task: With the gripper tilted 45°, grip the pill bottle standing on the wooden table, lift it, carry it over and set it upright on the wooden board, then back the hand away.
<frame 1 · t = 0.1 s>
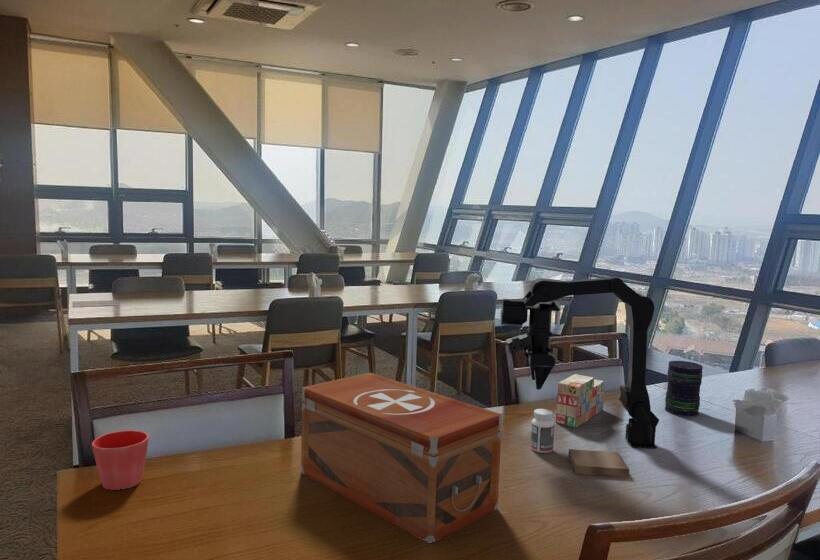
hand: (536, 384, 164), 15 cm above the table, tool pointing down, fingers open, 9 cm apart
wooden board: (597, 466, 148), on the table
stack of blocks: (579, 417, 184), on the table
storage jar: (681, 412, 192), on the table
flower pot: (121, 483, 132), on the table
pill bottle: (541, 450, 158), on the table
wooden box: (394, 491, 133), on the table
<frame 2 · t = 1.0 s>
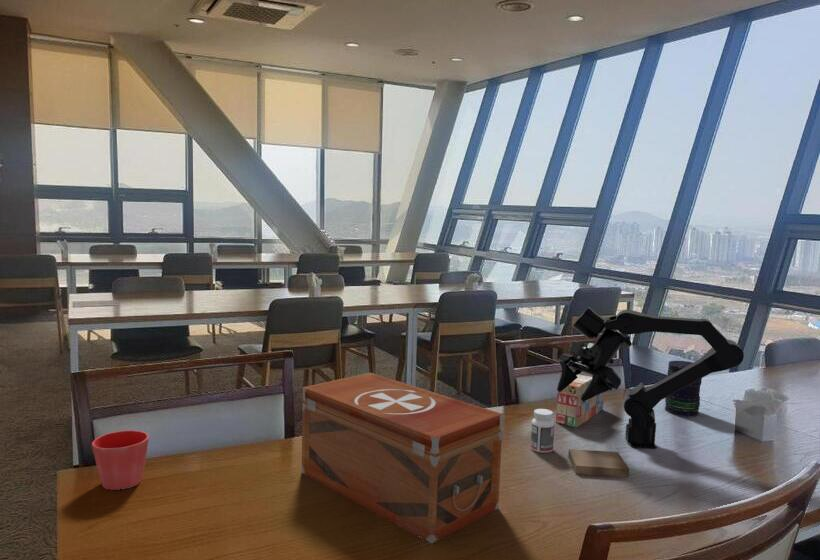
hand: (569, 395, 160), 13 cm above the table, tool tilted 45°, fingers open, 9 cm apart
nothing on the table moved.
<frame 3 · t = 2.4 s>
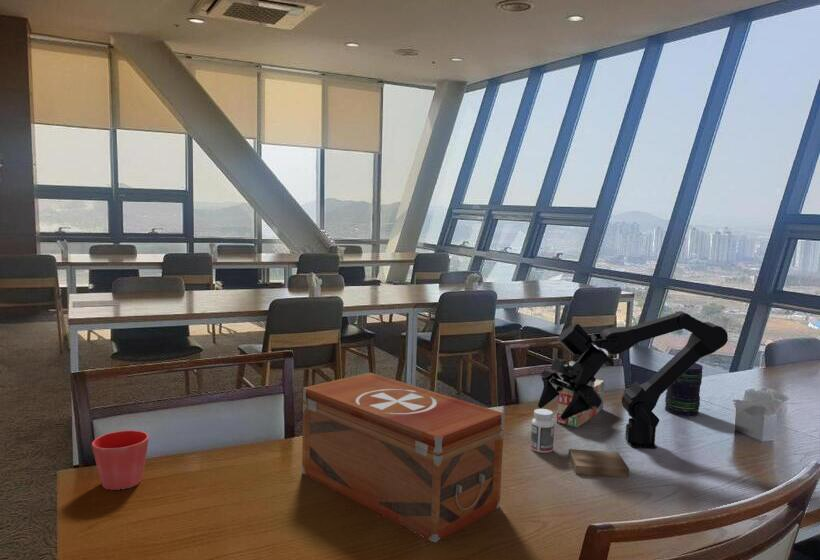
hand: (549, 412, 158), 9 cm above the table, tool tilted 45°, fingers open, 9 cm apart
nothing on the table moved.
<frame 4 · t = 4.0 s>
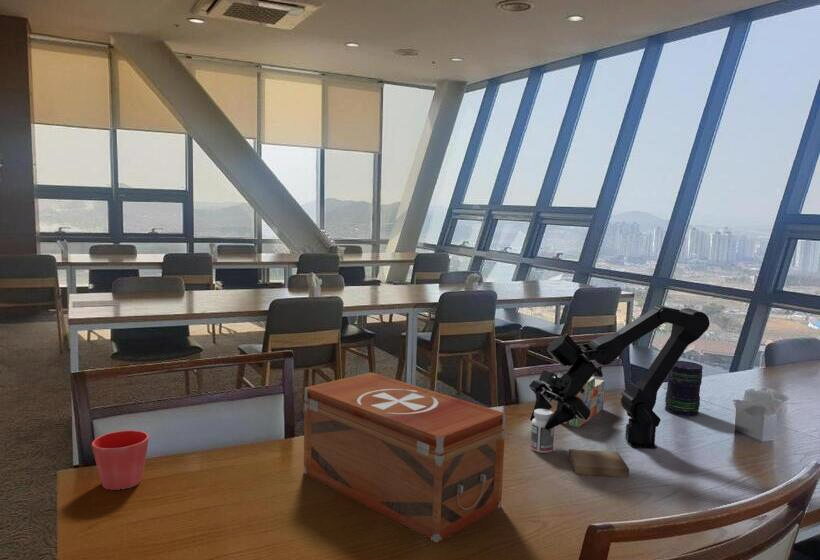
hand: (538, 424, 156), 7 cm above the table, tool tilted 45°, fingers closed on pill bottle, 6 cm apart
pill bottle: (541, 449, 158), on the table, touching gripper
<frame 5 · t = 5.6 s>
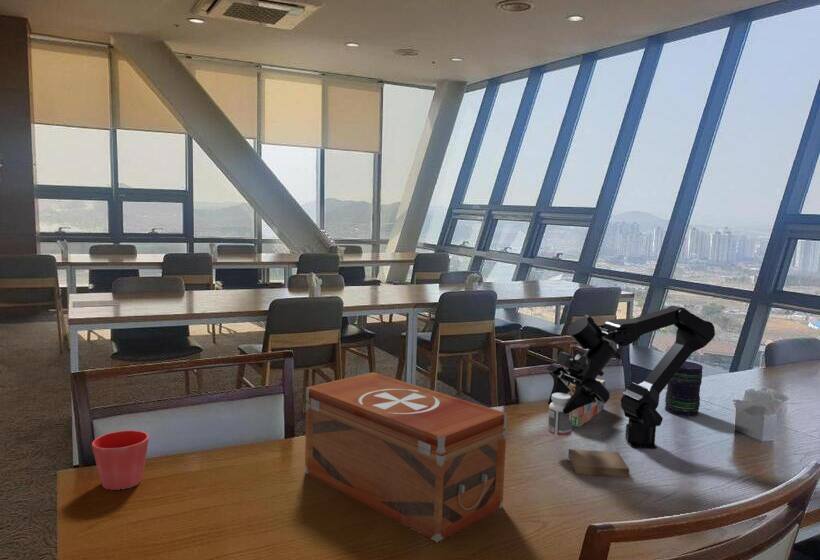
hand: (556, 408, 153), 12 cm above the table, tool tilted 45°, fingers closed on pill bottle, 6 cm apart
pill bottle: (559, 434, 154), point 5 cm above the table, touching gripper
when the fingers open (10 cm above the table, at t = 7.2 s): pill bottle stays where it is, resting on wooden board.
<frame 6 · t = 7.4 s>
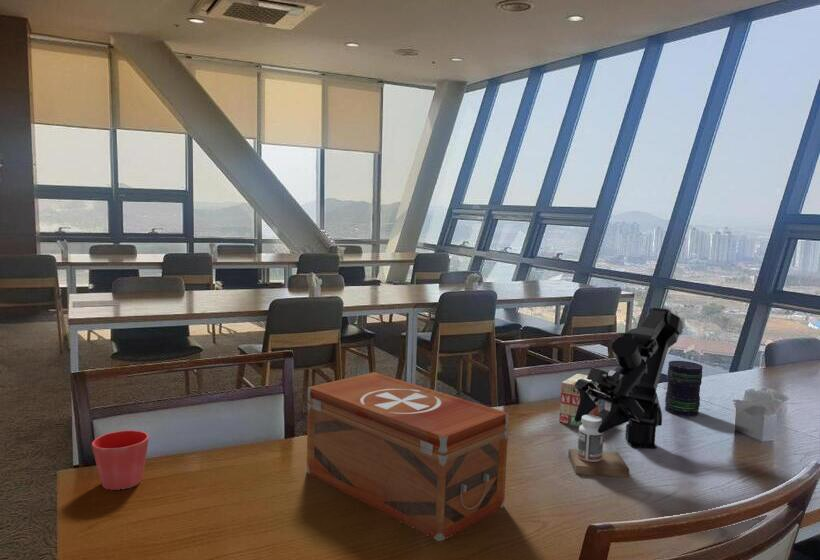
hand: (587, 426, 146), 10 cm above the table, tool tilted 45°, fingers open, 8 cm apart
pill bottle: (589, 458, 148), point 2 cm above the table, touching wooden board
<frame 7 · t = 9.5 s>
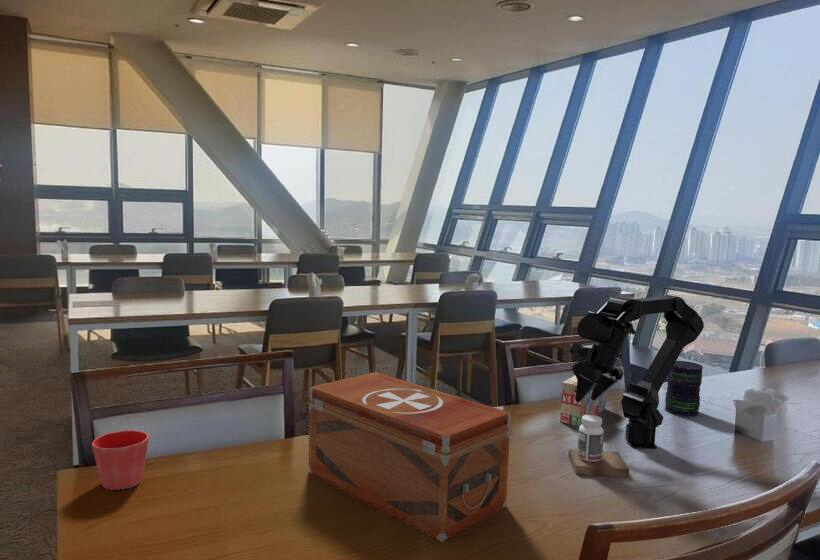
hand: (585, 400, 158), 13 cm above the table, tool tilted 20°, fingers open, 9 cm apart
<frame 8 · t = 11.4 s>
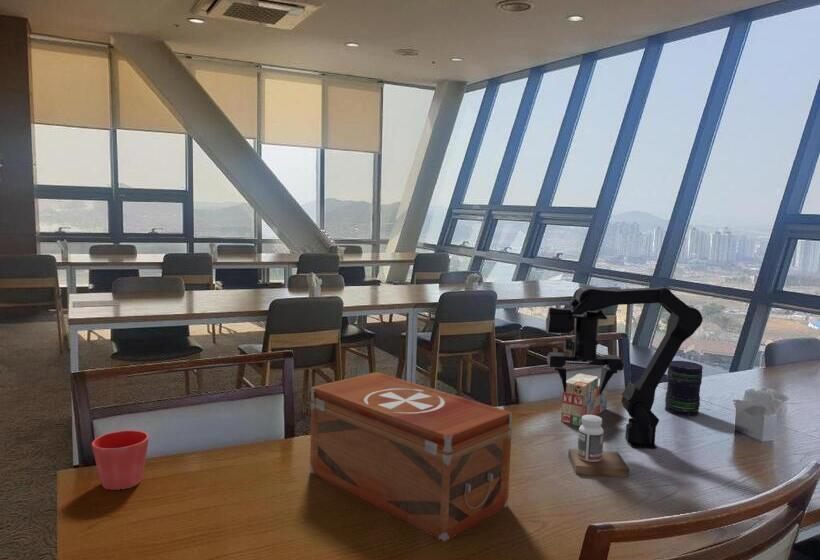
hand: (582, 392, 163), 13 cm above the table, tool pointing down, fingers open, 9 cm apart
at the end: pill bottle inside the target area on the wooden board (0.5 cm from its centre), point 1.8 cm above the wooden board's base; pill bottle tilted 0°; the gripper is holding nothing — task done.
